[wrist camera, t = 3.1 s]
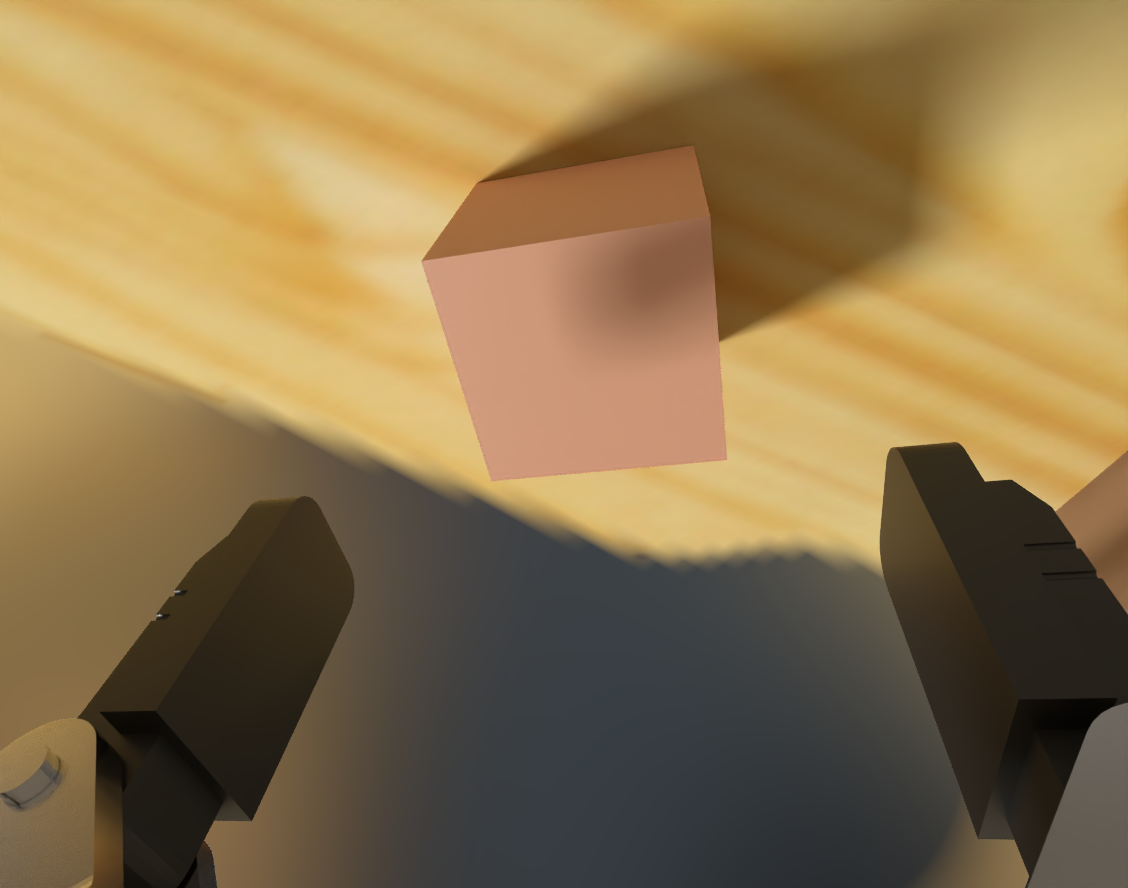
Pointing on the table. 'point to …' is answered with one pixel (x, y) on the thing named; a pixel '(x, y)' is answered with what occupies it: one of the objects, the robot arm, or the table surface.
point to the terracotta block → (585, 317)
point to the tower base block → (1103, 525)
